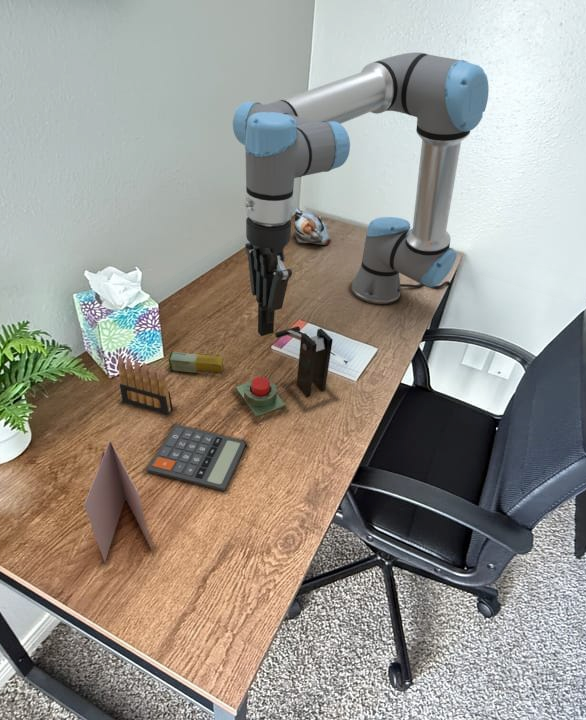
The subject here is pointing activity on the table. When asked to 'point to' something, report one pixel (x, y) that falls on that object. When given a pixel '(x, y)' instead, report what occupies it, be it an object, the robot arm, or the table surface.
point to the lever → (294, 334)
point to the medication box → (195, 362)
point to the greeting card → (112, 499)
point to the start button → (260, 386)
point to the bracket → (313, 363)
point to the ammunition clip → (144, 387)
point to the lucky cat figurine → (310, 228)
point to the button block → (261, 399)
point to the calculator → (198, 457)
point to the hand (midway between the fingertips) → (265, 332)
